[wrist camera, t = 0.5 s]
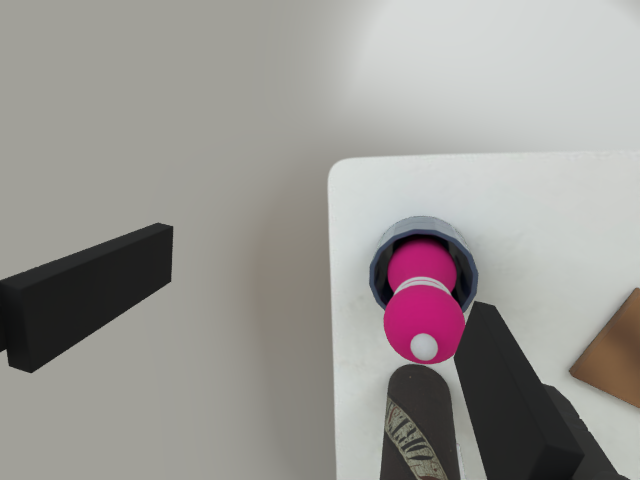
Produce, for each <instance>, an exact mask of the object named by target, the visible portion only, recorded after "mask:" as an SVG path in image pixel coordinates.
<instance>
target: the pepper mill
mask: <svg viewBox="0 0 640 480" xmlns="http://www.w3.org/2000/svg"><path fill="white" fill-rule="evenodd" d="M387 274H388V281H389V284H390V287H391V288H392V290H393V292H394V296H393V297H392V298H391V300H390V301H389V303H388V305H387V307H386V309H385V314H384V330H385V333H386V336H387V339H388V341H389V343H390V345H391V346H392V347H393V348H394V350H395V351H396V352H397V353H398V354H400V355H401V356H402V357H404V358H405V359H408V360H410V361H412V362H416V363H420V364H435V363H440V362H442V361H445V360H447V359H448V358H450V357H451V356H453V355H454V354H455V353H456V350H457V347H458V344H459V342H460V339H461V336H462V334H463V331H464V328H465V320H464V316H463V313H462V310H461V308H460V306H459V304H458V303H457V302H456V300H455V299H454V298H453V297H452V296H451V294H450V293H451V292H452V290H453V288H454V286H455V283H456V279H457V270H456V264H455V261H454V259H453V257H452V255H451V254H450V253H449V251H448V250H447V249H445V248H444V246H443V245H442V244H441V243H440V242H439V241H438V240H436V239H434V238H433V237H430V236H425V235H417V236H412V237H409V238H407V239H406V240H404V241H403V242H402V243H401V244H400V245H399V246H398V248H397V249H396V250H395V251H394V253H393V254H392V256H391V257H390V260H389V262H388V270H387Z"/></svg>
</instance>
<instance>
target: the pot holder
mask: <svg viewBox="0 0 640 480" xmlns="http://www.w3.org/2000/svg"><path fill="white" fill-rule="evenodd" d="M569 372H570V374H571V375H572V376H573V377H575V378H577V379H579V380H581V381H584V382H586V383H588V384H590V385H592V386H594V387H596V388H598V389H600V390H602V391H605V392H607V393H609V394H611V395H613V396H615V397H617V398H619V399H621V400H623V401H626V402H628V403H630V404H632V405H634V406H636V407H638V408H640V289H639V288H636V289H635V290H634V291H633V293H632V294H631V295H630V296H629V298H628V299H627V300H626V301H625V302H624V304H623V305H622V306H621V307H620V309H619V310H618V311H617V312H616V313H615V315H614V316H613V317H612V318H611V320H610V321H609V322H608V323H607V325H606V326H605V327H604V328H603V329H602V331H601V332H600V333H599V334H598V336H597V337H596V338H595V339H594V340H593V342H592V343H591V344H590V345H589V347H588V348H587V349H586V350H585V351H584V353H583V354H582V355H581V356H580V358H579V359H578V360H577V361H576V363H575V364H574V365H573V366H572V367H571V369H570V370H569Z"/></svg>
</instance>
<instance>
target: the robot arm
mask: <svg viewBox="0 0 640 480" xmlns="http://www.w3.org/2000/svg"><path fill="white" fill-rule="evenodd" d="M172 244H173V226H169V225H165V224H161V223H156V224H153V225H150V226H147V227H145V228H142V229H139V230H137V231H134V232H131V233H128V234H126V235H123V236H120V237H118V238H115V239H112V240H110V241H107V242H104V243H101V244H99V245H96V246H93V247H91V248H88V249H85V250H82V251H80V252H77V253H74V254H72V255H69V256H66V257H63V258H61V259H58V260H54V261H52V262H49V263H46V264H43V265H41V266H39V267H35V268H33V269H30V270H27V271H26V272H22V273H19V274H17V275H14V276H11V277H8V278H5V279H3V280H0V352H2V351H3V350H5V349H6V350H7V356H8V363H9V366H10V367H13V368H16V369H19V370H22V371H25V372H29V373H33V372H34V371H36V370H37V369H39V368H40V367H42V366H43V365H45V364H46V363H48V362H49V361H51V360H52V359H54V358H55V357H57V356H58V355H60V354H62V353H63V352H64V351H66V350H68V349H69V348H70V347H72V346H74V345H75V344H77V343H78V342H80V341H81V340H83V339H84V338H85V337H87V336H88V335H90V334H92V333H94V332H95V331H96V330H98V329H100V328H101V327H103V326H104V325H106V324H107V323H109V322H110V321H112V320H113V319H115V318H116V317H118V316H119V315H121V314H122V313H124V312H125V311H127V310H128V309H130V308H131V307H133V306H134V305H136V304H138V303H139V302H141V301H142V300H144V299H145V298H147V297H148V296H150V295H151V294H153V293H154V292H156V291H157V290H159V289H160V288H162V287H163V286H165V285H166V284H168V283H170V282H171V272H172V271H171V270H172V247H173V245H172ZM454 362H455V365H456V369H457V372H458V376H459V380H460V383H461V387H462V390H463V394H464V398H465V401H466V405H467V408H468V412H469V416H470V419H471V423H472V426H473V430H474V434H475V437H476V441H477V444H478V448H479V452H480V455H481V459H482V462H483V466H484V470H485V473H486V477H487V480H630V479H628V478H626V477H625V476H622V475H619V474H618V473H617V471H616V470H615V468H614V467H613V465H612V464H611V462H610V461H609V459H608V458H607V456H606V455H605V453H604V452H603V450H602V449H601V447H600V446H599V444H598V443H597V441H596V440H595V438H594V437H593V436H592V434H591V433H590V432H589V431H588V428H587V427H586V425H585V424H584V422H583V421H582V419H579V415H578V413H577V412H576V410H575V409H574V407H573V406H572V404H571V403H570V401H569V400H568V399H567V398H565V397H564V396H563V395H562V394H561V393H560V392H559V391H558V390H557V389H556V388H555V387H553V386H549V385H545V384H542V383H541V381H540V380H539V378H538V376H537V375H536V373H535V371H534V370H533V368H532V366H531V365H530V363H529V361H528V360H527V358H526V357H525V355H524V353H523V352H522V350H521V348H520V347H519V345H518V343H517V342H516V340H515V338H514V337H513V335H512V333H511V332H510V330H509V329H508V327H507V325H506V324H505V322H504V320H503V319H502V317H501V315H500V314H499V312H498V310H497V309H496V307H495V306H494V305H490V304H486V303H482V302H477V301H474V304H473V307H472V309H471V312H470V315H469V317H468V320H467V323H466V325H465V328H464V331H463V334H462V336H461V339H460V342H459V344H458V347H457V350H456V353H455V355H454Z"/></svg>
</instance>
